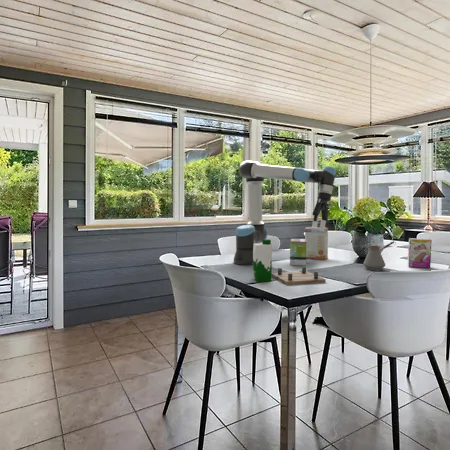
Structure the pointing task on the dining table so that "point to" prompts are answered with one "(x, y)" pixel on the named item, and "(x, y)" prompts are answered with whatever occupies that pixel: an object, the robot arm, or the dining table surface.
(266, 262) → the soya milk
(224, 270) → the dining table surface
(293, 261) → the tea box
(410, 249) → the candy bar box
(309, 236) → the cracker box
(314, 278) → the peg board
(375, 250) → the coffee pot
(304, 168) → the robot arm
